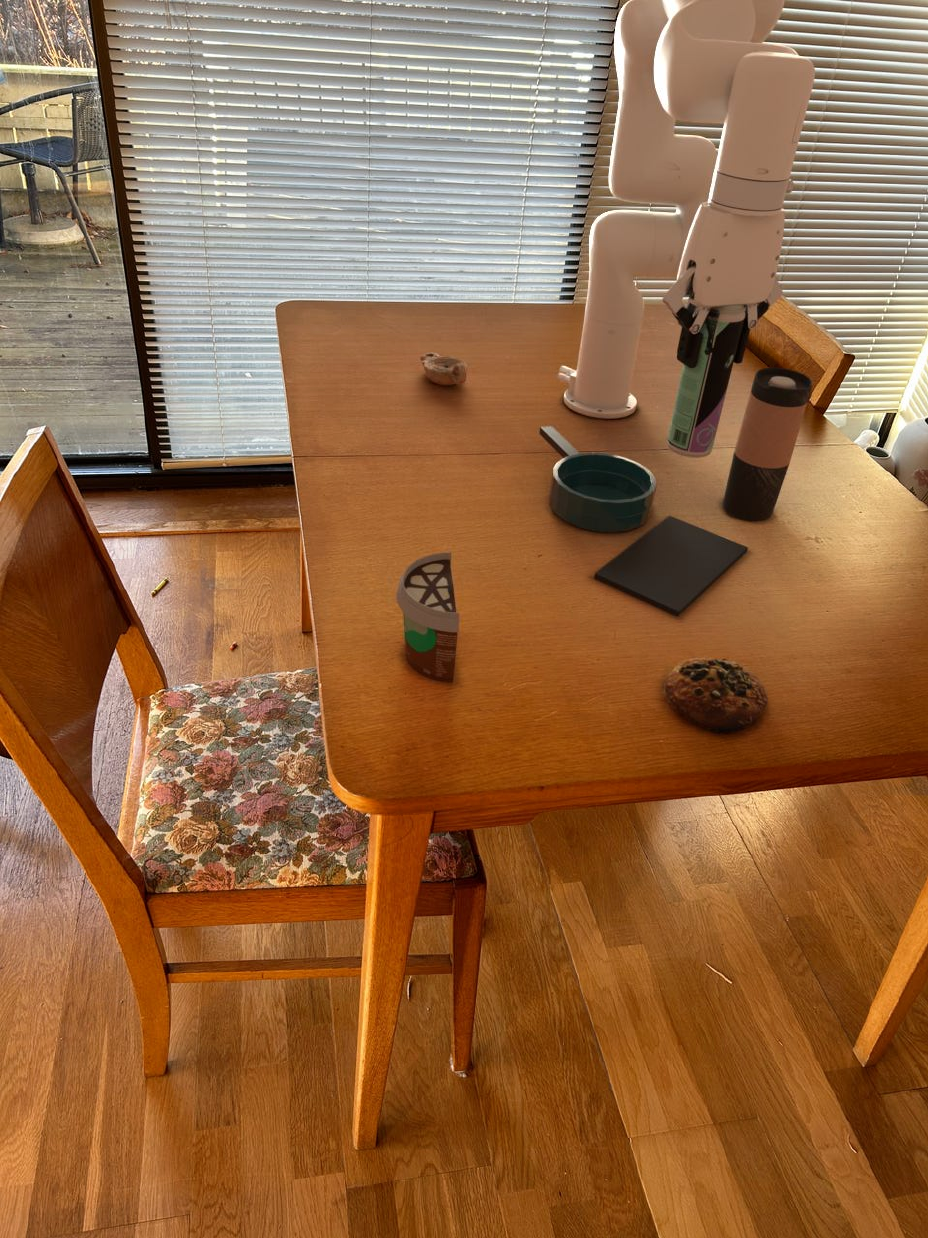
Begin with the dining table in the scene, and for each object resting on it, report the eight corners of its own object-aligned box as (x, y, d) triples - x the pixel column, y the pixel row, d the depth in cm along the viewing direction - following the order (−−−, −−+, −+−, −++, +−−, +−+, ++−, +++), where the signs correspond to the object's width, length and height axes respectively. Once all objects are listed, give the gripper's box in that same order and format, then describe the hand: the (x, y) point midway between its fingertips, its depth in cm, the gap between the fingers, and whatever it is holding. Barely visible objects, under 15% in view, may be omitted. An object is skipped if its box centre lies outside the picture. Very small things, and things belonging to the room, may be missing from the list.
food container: (393, 621, 108) (395, 549, 102) (446, 621, 109) (451, 549, 103) (396, 691, 99) (398, 616, 93) (454, 691, 99) (459, 616, 93)
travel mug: (775, 503, 137) (814, 373, 125) (771, 527, 131) (812, 394, 119) (723, 491, 139) (757, 362, 127) (717, 515, 133) (752, 383, 121)
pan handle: (585, 467, 137) (586, 459, 136) (573, 468, 136) (574, 461, 135) (550, 432, 145) (551, 425, 144) (539, 433, 144) (539, 426, 144)
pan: (529, 507, 131) (533, 476, 128) (583, 473, 141) (588, 443, 138) (616, 546, 125) (623, 513, 122) (667, 507, 134) (674, 476, 131)
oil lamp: (410, 369, 169) (411, 342, 166) (447, 364, 172) (448, 338, 169) (442, 398, 160) (443, 370, 157) (480, 392, 163) (482, 365, 160)
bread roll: (700, 745, 95) (709, 704, 92) (640, 689, 103) (646, 650, 101) (786, 723, 99) (796, 683, 96) (721, 671, 107) (729, 633, 105)
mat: (593, 578, 118) (594, 573, 118) (668, 520, 131) (669, 515, 131) (677, 617, 113) (679, 611, 112) (747, 552, 126) (748, 547, 125)
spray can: (711, 460, 111) (753, 291, 99) (665, 453, 112) (701, 285, 100) (711, 441, 115) (751, 276, 103) (667, 434, 116) (701, 270, 104)
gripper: (792, 182, 102) (751, 344, 113) (657, 185, 96) (627, 355, 107) (837, 199, 96) (789, 367, 107) (697, 203, 91) (661, 380, 101)
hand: (709, 359), depth 107 cm, fingers closed on spray can, 5 cm apart
